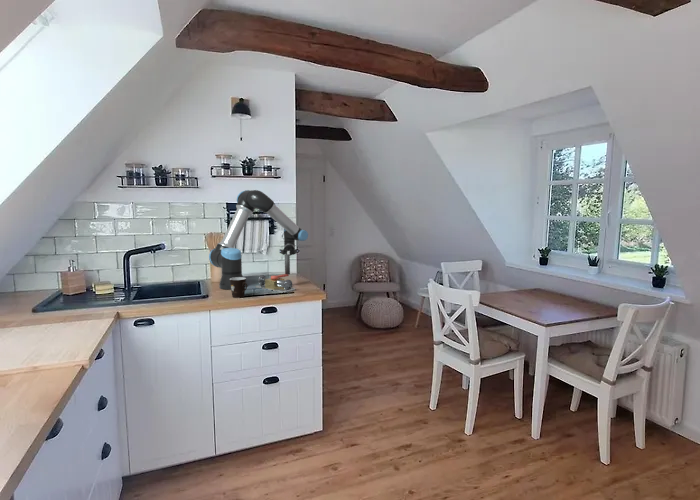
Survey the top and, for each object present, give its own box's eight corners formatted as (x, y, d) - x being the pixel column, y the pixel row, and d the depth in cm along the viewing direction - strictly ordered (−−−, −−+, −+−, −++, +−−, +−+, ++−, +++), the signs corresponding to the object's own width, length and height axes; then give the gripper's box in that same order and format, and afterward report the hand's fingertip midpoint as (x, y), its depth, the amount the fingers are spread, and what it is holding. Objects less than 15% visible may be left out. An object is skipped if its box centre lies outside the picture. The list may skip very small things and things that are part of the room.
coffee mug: (229, 295, 226) (228, 278, 225) (244, 294, 230) (244, 276, 228) (232, 300, 215) (231, 281, 214) (249, 298, 219) (248, 280, 218)
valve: (255, 287, 248) (254, 276, 247) (268, 284, 256) (267, 274, 255) (282, 292, 233) (281, 281, 232) (294, 289, 241) (294, 278, 240)
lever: (274, 279, 241) (273, 257, 239) (269, 278, 243) (268, 256, 242) (291, 276, 252) (291, 254, 250) (286, 275, 254) (286, 254, 253)
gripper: (298, 254, 284) (298, 259, 260) (279, 255, 282) (278, 260, 259) (298, 244, 283) (298, 248, 260) (279, 244, 281) (277, 248, 258)
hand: (288, 254), depth 259 cm, fingers closed
